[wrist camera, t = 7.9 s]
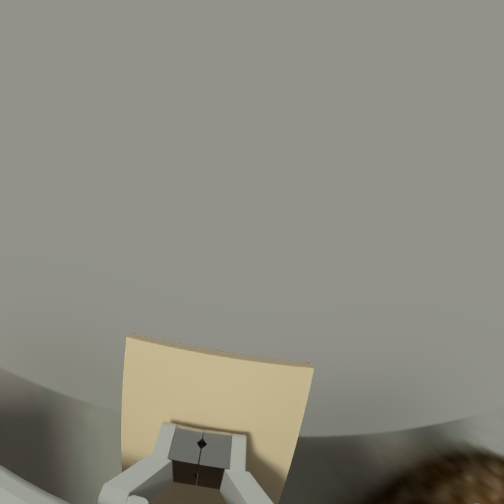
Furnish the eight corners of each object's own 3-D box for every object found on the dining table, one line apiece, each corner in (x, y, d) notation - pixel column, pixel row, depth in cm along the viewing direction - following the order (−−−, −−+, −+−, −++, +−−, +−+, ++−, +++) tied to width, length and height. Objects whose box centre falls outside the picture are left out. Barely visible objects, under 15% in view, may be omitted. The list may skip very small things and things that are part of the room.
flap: (267, 521, 10) (309, 362, 11) (269, 531, 9) (314, 368, 10) (128, 499, 10) (133, 333, 11) (124, 508, 9) (126, 336, 10)
